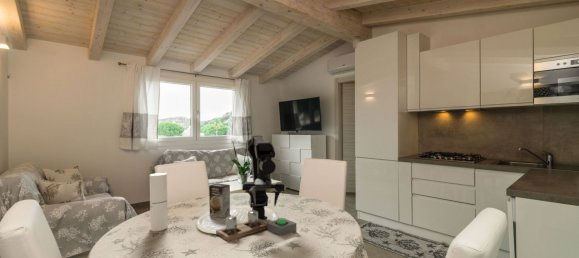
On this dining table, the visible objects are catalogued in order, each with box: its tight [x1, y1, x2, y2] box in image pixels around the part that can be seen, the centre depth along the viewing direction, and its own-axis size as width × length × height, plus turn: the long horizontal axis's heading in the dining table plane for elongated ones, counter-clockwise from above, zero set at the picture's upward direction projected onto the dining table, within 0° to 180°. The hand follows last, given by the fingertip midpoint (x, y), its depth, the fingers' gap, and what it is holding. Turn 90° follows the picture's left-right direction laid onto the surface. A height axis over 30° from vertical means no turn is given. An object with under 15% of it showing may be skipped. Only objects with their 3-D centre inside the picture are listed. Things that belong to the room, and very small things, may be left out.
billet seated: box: [225, 215, 238, 235], centre depth 113 cm, size 4×4×7 cm
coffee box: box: [208, 182, 231, 219], centre depth 141 cm, size 9×6×16 cm
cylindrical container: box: [149, 172, 169, 232], centre depth 123 cm, size 7×7×25 cm
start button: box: [276, 217, 287, 226], centre depth 117 cm, size 4×4×2 cm
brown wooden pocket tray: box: [215, 219, 267, 242], centre depth 116 cm, size 10×20×2 cm, turn 132°
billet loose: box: [247, 210, 259, 228], centre depth 120 cm, size 4×4×7 cm
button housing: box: [266, 218, 297, 237], centre depth 117 cm, size 9×9×4 cm
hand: (264, 205), depth 118 cm, fingers open, 9 cm apart
